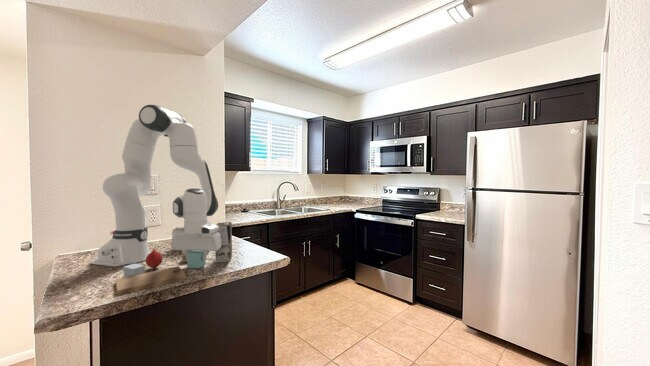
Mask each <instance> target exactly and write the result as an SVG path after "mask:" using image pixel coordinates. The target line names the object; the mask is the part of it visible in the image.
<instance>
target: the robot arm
mask: <svg viewBox="0 0 650 366" xmlns="http://www.w3.org/2000/svg"><path fill="white" fill-rule="evenodd" d="M160 136H164V137H167V138H168V139H169V141H168V142H169V153H170V154H169V155H170V159H171V161H172V162H173V163H174V164H175V165H176V166H177V167H180V168H181V169H184V170H186V171H190V172H192V173H194V174H195V175H196V176H197V177H198V178H199V182H200V187H201V189H200V188H188V189H186V190H184V194H183V195H181V196H177V197H176V198H175V199H174V200H173V201H172V213H173V215H175V216H176V217H178V218H181V219H184V218H185V219H184V220H183V227H178V226H176V227H175V228H174V229H172V231H171V235H172V236H171V237H172V238H171V242H170V243H171V245H170V246H171V249H172V250H173V251H182V250H183V253H184V254H185V256H186V260H187V253H189V251H190V250H197V251H203V253H205V254H204V256H202V257H201V261H205V262H206V261H207V259H208V258H207V256H208V255H209V253H210V252H215V251H217V250H219V249H220V248H221V236H220V233H219V232H217V231H218V230H219V226H217V225H216V224H214V223H211V222H208V217H212V216H213V215H214V214H216V212H217V211H218V209H219V202H218V199H217V196H216V193H215V190H214V185H213V182H212V176H211V174H210V173H211V172H210V170H209V169H210V168H209V165H208V163H207V161H206V160H204V159H203V157H202V156H201V155H200V152H199V145H198V137H197V134H196V130H195V127H194V126H193V125H192V124H190V123H188V122H187V120H186V119H185V118H184V117H183V115H180V114H179V113H177V112H175V111H173V110H171V109H170V108H169V109H168V108H164V107H162V106H159V105H157V104H145V105H144V106H143V107H141V109H140V111H139V112H138V119H136V120H134V121H133V123H132V124H131V127H130V128H129V131H128V133H127V136H126V140H125V142H124V145H123V146H124V147H123V151H122V154H121V159H122V161H123V164H124V172H123V173H122V172H121V173H116V174H113V175H111V176H108V177H107V178H105V179H104V181H103V184H102V191H103V192H104V194H105V195H106V196H107V197H108V198H109V199H110V201H111V205H112V208H113V210H114V215H115V230H113V231H110V232H109V233H110V235H112V238H111V239H110V240H108V241H107V242H106V243H105V244H103V245H102V246H100V247H99V248H98V251H97V257H95V258H94V259H91V260H90V264H92V265H98V266H107V267H113V268H114V267H115V268H116V267H120V266H126V265H131V264H138V263H140V262H144V261H146V257H147V256H148V254H149V253H151V251H150V248H149V243H148V233H149V232H148V227H147V210H146V208H145V207H144V206H143V204H142V201H141V198H140V197H143V196H145V195H147V194H148V193H150V192H151V190H152V189H153V186H154V183H153V180H152V163H153V158H154V156H155V155H154V154H155V150H156V146H157V142H158V139H159V137H160Z"/></svg>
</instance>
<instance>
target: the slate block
mask: <svg viewBox="0 0 650 366" xmlns="http://www.w3.org/2000/svg"><path fill="white" fill-rule="evenodd" d="M145 266H146V265H143V264H141V263H131V264H127V265H123V278H124V277H129V276H134V275H139V274H143V273H146V271H145Z"/></svg>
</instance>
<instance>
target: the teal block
mask: <svg viewBox="0 0 650 366" xmlns="http://www.w3.org/2000/svg"><path fill="white" fill-rule="evenodd" d="M204 254H205V253H203V251H197V250H193V251H191V252H189V253H187V261H186V262H187V263H186V264H187V266H186V267H187V268H186V269H200V268H201V267H203V266H205V265H206V261H201V257H202V256H204Z"/></svg>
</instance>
